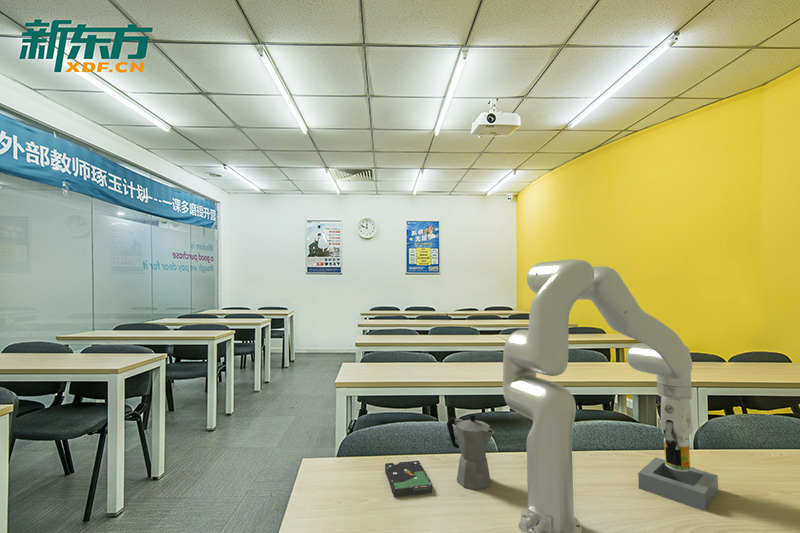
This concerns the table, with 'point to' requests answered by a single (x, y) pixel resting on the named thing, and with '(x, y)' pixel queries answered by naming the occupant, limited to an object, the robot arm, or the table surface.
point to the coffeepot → (471, 451)
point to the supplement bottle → (684, 456)
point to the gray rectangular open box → (679, 484)
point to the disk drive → (408, 479)
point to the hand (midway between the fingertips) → (677, 459)
